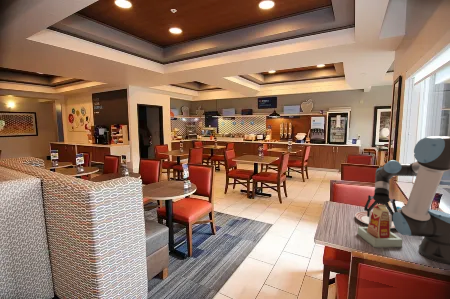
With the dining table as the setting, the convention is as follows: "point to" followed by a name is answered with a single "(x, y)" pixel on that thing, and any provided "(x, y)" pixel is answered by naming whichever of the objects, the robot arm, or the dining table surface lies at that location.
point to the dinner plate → (367, 218)
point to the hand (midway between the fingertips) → (379, 224)
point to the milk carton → (379, 222)
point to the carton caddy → (380, 239)
